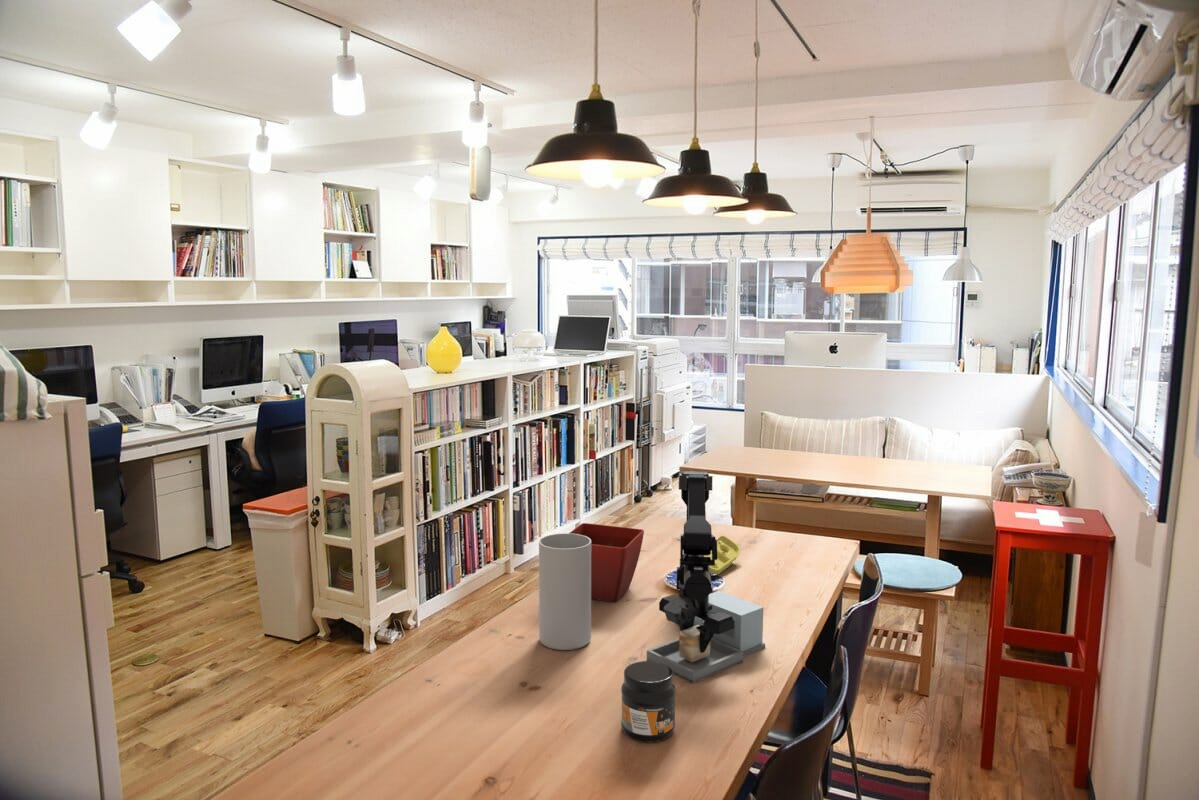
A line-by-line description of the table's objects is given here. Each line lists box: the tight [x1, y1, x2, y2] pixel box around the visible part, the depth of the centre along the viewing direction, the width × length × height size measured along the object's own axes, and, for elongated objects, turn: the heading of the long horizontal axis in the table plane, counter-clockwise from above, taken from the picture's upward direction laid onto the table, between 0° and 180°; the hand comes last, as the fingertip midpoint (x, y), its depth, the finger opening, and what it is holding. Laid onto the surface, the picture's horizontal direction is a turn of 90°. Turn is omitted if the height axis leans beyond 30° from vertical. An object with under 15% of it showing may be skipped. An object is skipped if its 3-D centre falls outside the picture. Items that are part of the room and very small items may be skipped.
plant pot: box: [569, 522, 645, 603], centre depth 235 cm, size 19×19×17 cm
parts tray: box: [646, 637, 744, 684], centre depth 192 cm, size 15×17×2 cm
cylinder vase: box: [538, 532, 592, 651], centre depth 202 cm, size 12×12×25 cm
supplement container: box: [620, 660, 677, 743], centre depth 162 cm, size 10×10×12 cm
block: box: [678, 625, 710, 662], centre depth 192 cm, size 4×6×6 cm
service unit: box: [697, 590, 766, 658], centre depth 202 cm, size 15×9×10 cm, turn 40°
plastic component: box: [704, 535, 741, 575], centre depth 258 cm, size 20×7×10 cm
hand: (695, 648), depth 192 cm, fingers open, 4 cm apart
